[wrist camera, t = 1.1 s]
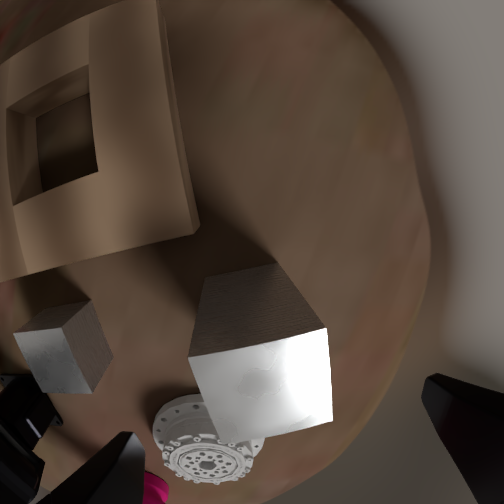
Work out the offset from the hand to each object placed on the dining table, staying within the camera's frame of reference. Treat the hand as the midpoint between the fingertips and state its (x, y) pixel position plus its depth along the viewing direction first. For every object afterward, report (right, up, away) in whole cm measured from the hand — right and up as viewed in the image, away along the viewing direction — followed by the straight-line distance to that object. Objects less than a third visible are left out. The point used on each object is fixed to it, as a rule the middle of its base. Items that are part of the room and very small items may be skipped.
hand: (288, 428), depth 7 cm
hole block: (-14, +13, +10) cm, 21 cm away
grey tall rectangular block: (-1, +1, +13) cm, 13 cm away
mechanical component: (-5, -11, +16) cm, 20 cm away
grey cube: (-15, -2, +12) cm, 20 cm away
